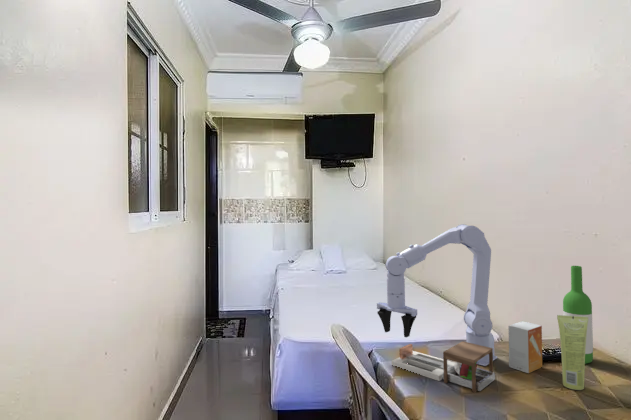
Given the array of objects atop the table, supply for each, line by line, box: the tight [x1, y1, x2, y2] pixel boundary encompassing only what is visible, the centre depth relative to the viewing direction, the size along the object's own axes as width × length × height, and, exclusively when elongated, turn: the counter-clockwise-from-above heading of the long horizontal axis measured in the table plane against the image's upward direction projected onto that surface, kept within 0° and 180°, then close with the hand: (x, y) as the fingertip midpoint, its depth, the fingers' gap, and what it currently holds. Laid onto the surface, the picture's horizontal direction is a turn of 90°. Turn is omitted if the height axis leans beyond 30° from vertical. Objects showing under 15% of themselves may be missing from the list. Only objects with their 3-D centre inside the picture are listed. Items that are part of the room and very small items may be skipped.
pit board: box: [391, 350, 456, 382], centre depth 124 cm, size 12×16×2 cm
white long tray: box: [399, 343, 496, 392], centre depth 120 cm, size 10×27×4 cm, turn 44°
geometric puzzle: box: [454, 362, 483, 381], centre depth 114 cm, size 7×7×8 cm
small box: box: [507, 320, 543, 374], centre depth 122 cm, size 8×6×13 cm
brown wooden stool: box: [442, 340, 494, 394], centre depth 114 cm, size 12×9×9 cm
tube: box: [556, 314, 588, 391], centre depth 108 cm, size 6×5×20 cm
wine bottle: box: [562, 265, 594, 365], centre depth 126 cm, size 8×8×30 cm
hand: (396, 334), depth 130 cm, fingers open, 7 cm apart
